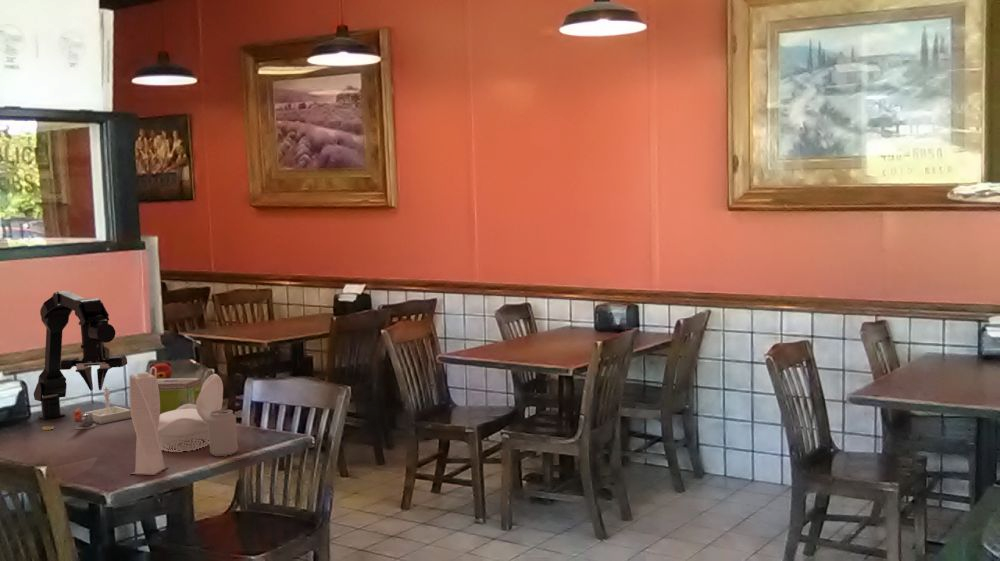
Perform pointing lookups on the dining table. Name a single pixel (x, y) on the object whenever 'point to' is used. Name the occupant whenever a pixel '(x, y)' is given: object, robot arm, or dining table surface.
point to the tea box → (178, 392)
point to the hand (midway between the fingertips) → (96, 390)
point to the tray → (110, 415)
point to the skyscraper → (146, 422)
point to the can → (222, 433)
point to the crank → (82, 418)
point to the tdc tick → (47, 427)
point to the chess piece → (107, 402)
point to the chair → (191, 417)
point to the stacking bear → (162, 370)
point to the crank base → (86, 426)
